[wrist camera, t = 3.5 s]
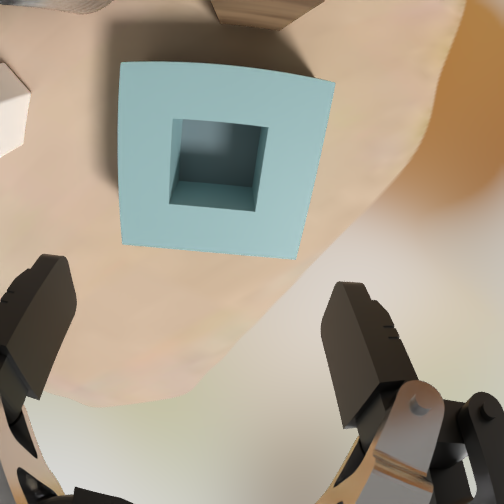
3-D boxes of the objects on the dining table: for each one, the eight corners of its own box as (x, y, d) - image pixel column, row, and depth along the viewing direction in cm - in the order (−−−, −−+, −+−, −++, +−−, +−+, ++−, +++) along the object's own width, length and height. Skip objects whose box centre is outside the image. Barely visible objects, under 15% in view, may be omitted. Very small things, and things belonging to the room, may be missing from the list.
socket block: (144, 61, 19) (120, 62, 14) (315, 77, 20) (335, 82, 16) (139, 211, 25) (122, 244, 21) (286, 224, 26) (295, 259, 22)
